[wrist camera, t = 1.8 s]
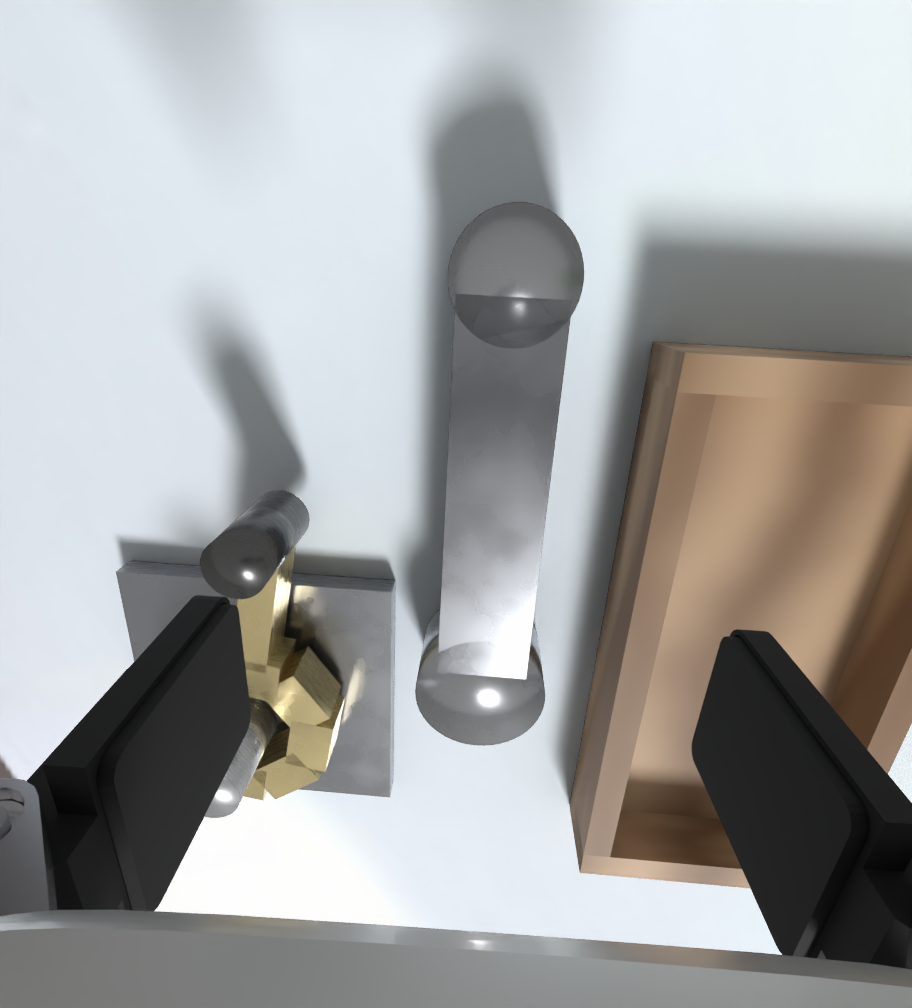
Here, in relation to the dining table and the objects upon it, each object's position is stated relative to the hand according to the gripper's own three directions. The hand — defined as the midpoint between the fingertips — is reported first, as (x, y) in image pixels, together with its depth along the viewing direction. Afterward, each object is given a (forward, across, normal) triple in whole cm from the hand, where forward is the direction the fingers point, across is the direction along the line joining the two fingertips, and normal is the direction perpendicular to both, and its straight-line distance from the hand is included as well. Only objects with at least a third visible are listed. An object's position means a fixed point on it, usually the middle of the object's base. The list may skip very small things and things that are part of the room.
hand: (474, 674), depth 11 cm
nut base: (+12, +9, +11) cm, 19 cm away
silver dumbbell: (+12, -1, 0) cm, 12 cm away
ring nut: (+11, +9, +8) cm, 16 cm away
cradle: (+12, -12, +6) cm, 18 cm away
